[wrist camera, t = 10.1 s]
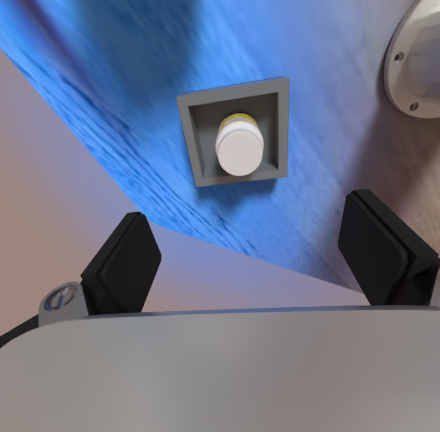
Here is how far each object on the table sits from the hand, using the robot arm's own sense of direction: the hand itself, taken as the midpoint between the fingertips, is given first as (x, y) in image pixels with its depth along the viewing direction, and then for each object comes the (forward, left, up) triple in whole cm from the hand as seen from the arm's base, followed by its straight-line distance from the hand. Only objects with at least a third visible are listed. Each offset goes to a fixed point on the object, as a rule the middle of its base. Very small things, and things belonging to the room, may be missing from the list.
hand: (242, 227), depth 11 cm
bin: (0, 0, -20) cm, 20 cm away
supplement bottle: (0, 0, -19) cm, 19 cm away
